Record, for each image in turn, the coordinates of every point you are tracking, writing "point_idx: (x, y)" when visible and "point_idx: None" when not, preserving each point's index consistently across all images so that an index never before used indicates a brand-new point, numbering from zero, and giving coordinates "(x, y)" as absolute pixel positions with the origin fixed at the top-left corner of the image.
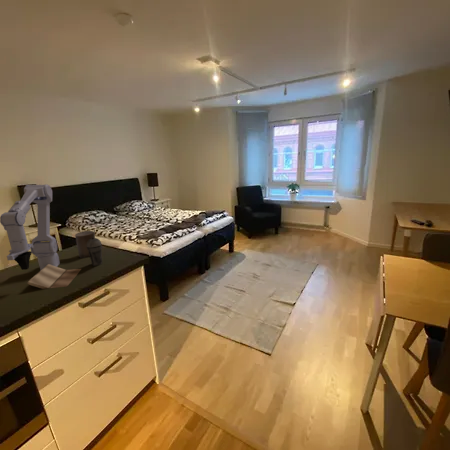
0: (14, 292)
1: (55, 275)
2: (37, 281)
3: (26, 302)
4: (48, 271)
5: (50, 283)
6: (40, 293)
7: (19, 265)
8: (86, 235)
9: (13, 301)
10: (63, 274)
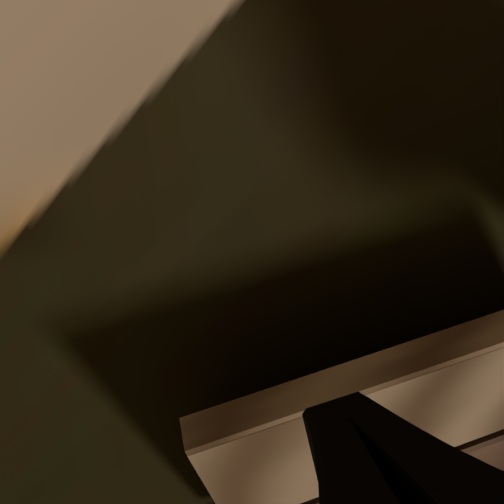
0: (164, 208)
1: (450, 435)
2: (258, 464)
3: (13, 484)
4: (499, 379)
5: (301, 496)
6: (174, 473)
7: (320, 475)
8: None
9: (5, 354)
10: (490, 446)
